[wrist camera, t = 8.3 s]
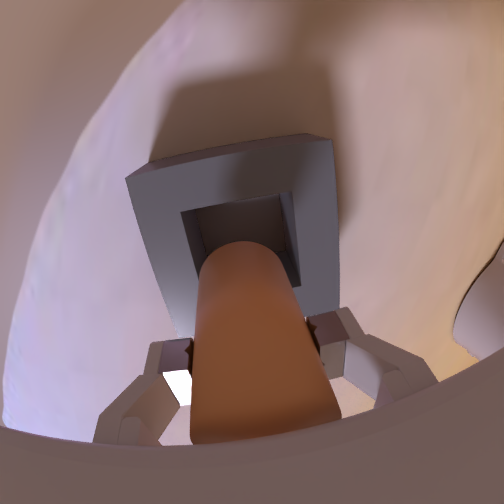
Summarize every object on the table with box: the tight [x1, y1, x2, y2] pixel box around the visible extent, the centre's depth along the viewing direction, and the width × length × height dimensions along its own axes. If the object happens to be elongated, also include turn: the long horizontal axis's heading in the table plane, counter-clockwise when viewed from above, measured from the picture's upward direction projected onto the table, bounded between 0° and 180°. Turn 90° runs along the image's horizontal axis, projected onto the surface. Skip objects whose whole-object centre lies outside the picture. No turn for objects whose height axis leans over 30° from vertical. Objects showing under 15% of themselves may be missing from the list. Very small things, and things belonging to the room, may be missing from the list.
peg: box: [190, 241, 342, 445], centre depth 10 cm, size 4×4×8 cm
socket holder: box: [125, 134, 340, 338], centre depth 19 cm, size 11×11×5 cm
